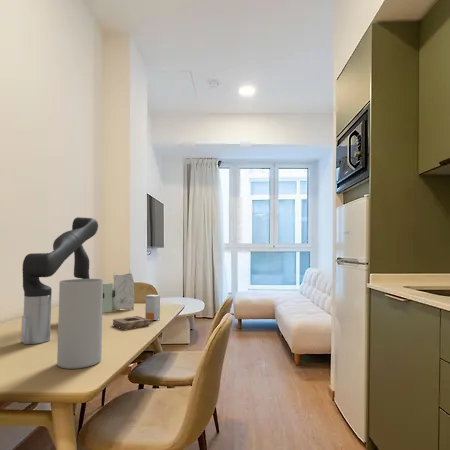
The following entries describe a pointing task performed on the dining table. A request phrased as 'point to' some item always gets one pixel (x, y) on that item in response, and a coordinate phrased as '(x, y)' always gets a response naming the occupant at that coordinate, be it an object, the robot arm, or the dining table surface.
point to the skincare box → (152, 307)
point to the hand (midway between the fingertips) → (108, 295)
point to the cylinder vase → (80, 323)
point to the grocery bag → (123, 292)
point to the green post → (107, 297)
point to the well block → (131, 322)
